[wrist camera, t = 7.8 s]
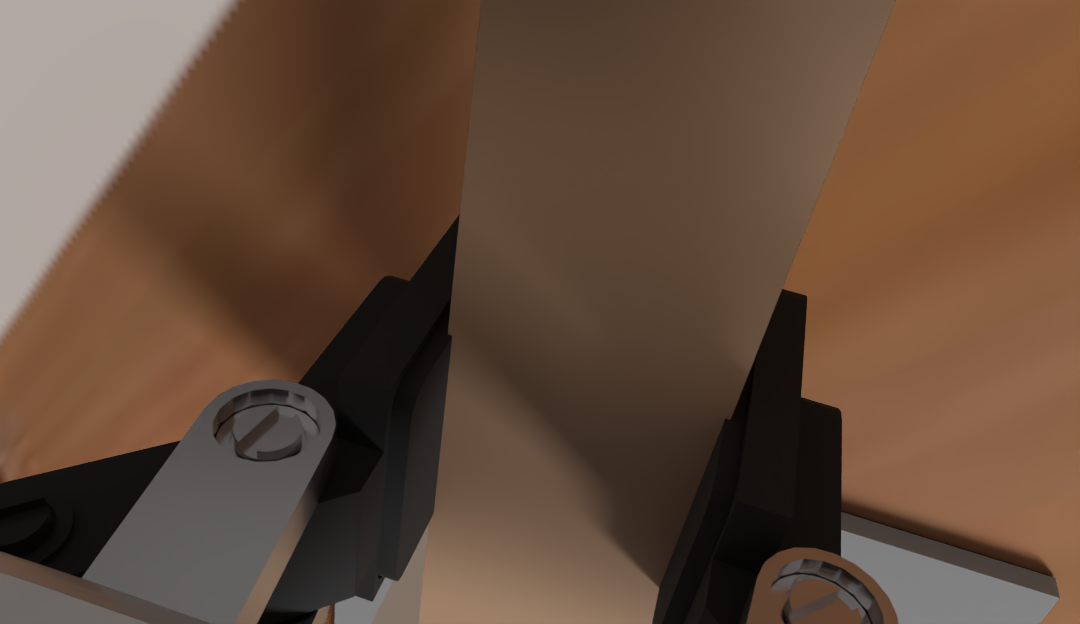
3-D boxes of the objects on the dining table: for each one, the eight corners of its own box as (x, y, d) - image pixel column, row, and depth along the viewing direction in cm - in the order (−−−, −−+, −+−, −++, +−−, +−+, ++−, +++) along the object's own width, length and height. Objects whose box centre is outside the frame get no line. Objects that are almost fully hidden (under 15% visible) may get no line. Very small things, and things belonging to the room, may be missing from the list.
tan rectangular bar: (661, -568, 8) (549, -670, 5) (1031, -510, 7) (1126, -585, 5) (467, 620, 19) (402, 785, 16) (606, 668, 19) (562, 846, 16)
